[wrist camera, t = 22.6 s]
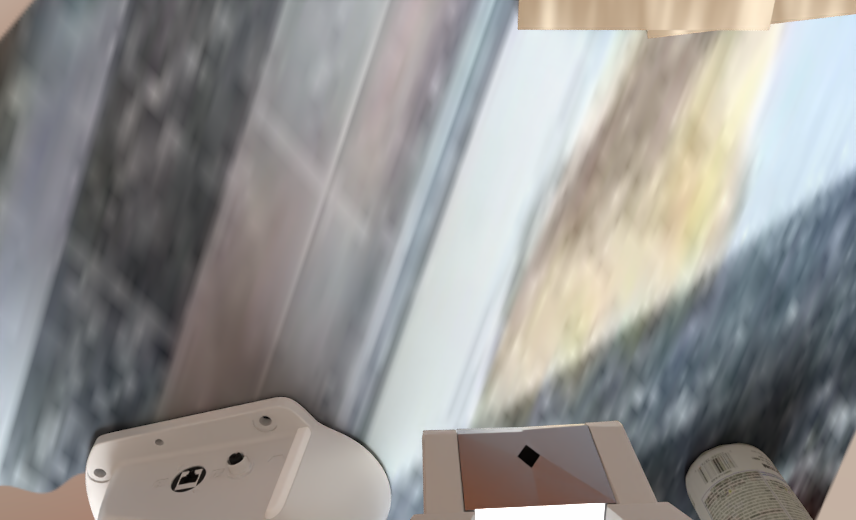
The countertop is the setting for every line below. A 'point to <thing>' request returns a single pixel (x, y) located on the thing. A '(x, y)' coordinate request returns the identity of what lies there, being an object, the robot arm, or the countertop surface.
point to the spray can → (740, 486)
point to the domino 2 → (787, 13)
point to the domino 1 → (645, 14)
